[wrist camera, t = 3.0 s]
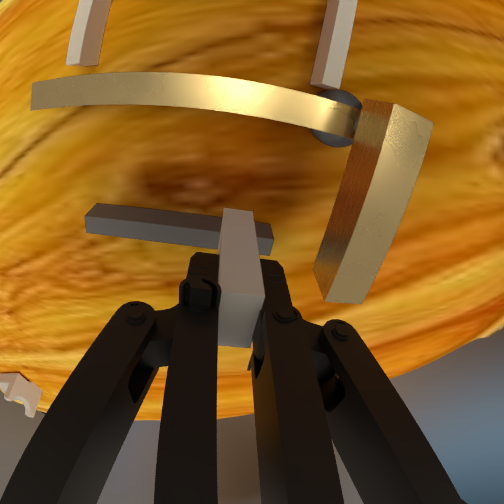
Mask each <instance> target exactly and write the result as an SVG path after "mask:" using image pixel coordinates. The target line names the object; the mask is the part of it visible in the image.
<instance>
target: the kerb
mask: <svg viewBox="0 0 504 504" xmlns="http://www.w3.org/2000/svg"><path fill="white" fill-rule="evenodd" d="M254 224H255V230H256V237H257V244H258V251H259V255H266V256H270V253H271V249H272V245H273V241H274V237H273V233H272V229H271V225H270V224H265V223H258V222H254ZM221 225H222V217H214V216H206V215H198V214H190V213H182V212H174V211H165V210H157V209H148V208H138V207H129V206H119V205H109V204H99V203H97V204H96V205H95V206H94V207H93V208H92V209H91V210H90V211H89V212H88V213H87V214H86V215H85V226H86V233H93V234H101V235H108V236H116V237H124V238H132V239H140V240H147V241H155V242H163V243H171V244H179V245H187V246H195V247H202V248H210V249H218V245H219V238H220V231H221Z"/></svg>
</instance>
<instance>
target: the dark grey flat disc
mask: <svg viewBox="0 0 504 504" xmlns="http://www.w3.org/2000/svg"><path fill="white" fill-rule="evenodd" d="M316 96H319V97H322V98H326V99H329V100H332V101H336V102H339V103H342V104H345V105H348V106H351V107H354V108H357V109H360V110H362V104H361V103H360V101H359V100H358V99H357V98H356V97H355V96H353V95H352V94H350V93H348V92H346V91H343V90H326V91H322V92H320V93H319V94H317V95H316ZM309 130H310V131H311V133H312V134H313V135H314V136H315V137H316V138H317V139H318V140H320V141H321V142H323V143H324V144H326V145H329V146H332V147H345V146H348V145H351V144H353V140H352V139H349V138H345V137H342V136H338V135H335V134H331V133H328V132H324V131H320V130H316V129H312V128H309Z"/></svg>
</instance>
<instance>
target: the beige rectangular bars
mask: <svg viewBox="0 0 504 504" xmlns="http://www.w3.org/2000/svg"><path fill="white" fill-rule="evenodd" d="M357 1H358V0H328V3H327V7H326V12H325V17H324V22H323V27H322V31H321V36H320V41H319V45H318V50H317V54H316V59H315V64H314V68H313V73H312V77H311V81H310V85H314V86H317V87H321V88H324V89H339V88H340V84H341V80H342V75H343V71H344V66H345V62H346V57H347V52H348V48H349V43H350V38H351V33H352V28H353V23H354V17H355V12H356V7H357ZM111 3H112V0H80V1H79V4H78V8H77V12H76V15H75V19H74V23H73V28H72V32H71V37H70V42H69V47H68V53H67V59H66V65H71V66H92V65H98V62H99V56H100V50H101V45H102V40H103V35H104V30H105V26H106V22H107V18H108V14H109V10H110V6H111Z"/></svg>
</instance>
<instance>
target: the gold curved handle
mask: <svg viewBox="0 0 504 504" xmlns="http://www.w3.org/2000/svg"><path fill="white" fill-rule="evenodd" d="M109 104H134V105H161V106H177V107H189V108H199V109H208V110H216V111H224V112H231V113H238V114H244V115H250V116H256V117H262V118H267V119H272V120H277V121H282V122H287V123H291V124H296V125H300V126H304V127H308V128H312V129H316V130H320V131H324V132H328V133H331V134H335V135H338V136H342V137H345V138H349V139H352V140H353V144H352V147H351V151H350V155H349V158H348V161H347V165H346V168H345V172H344V175H343V178H342V182H341V185H340V188H339V191H338V195H337V198H336V201H335V204H334V207H333V210H332V213H331V216H330V219H329V222H328V225H327V228H326V231H325V234H324V237H323V240H322V243H321V246H320V249H319V251H318V254H317V257H316V260H315V263H314V265H313V268H312V270H313V273H314V275H315V278H316V280H317V283H318V286H319V288H320V291H321V293H322V296H323V299H324V301H325V302H337V303H353V304H362V302H363V301H364V299H365V297H366V295H367V293H368V291H369V289H370V287H371V285H372V283H373V281H374V279H375V277H376V275H377V273H378V271H379V269H380V267H381V265H382V263H383V261H384V258H385V256H386V254H387V252H388V250H389V248H390V245H391V243H392V241H393V239H394V236H395V234H396V232H397V229H398V227H399V224H400V222H401V220H402V217H403V215H404V212H405V210H406V207H407V204H408V202H409V199H410V197H411V194H412V191H413V188H414V186H415V183H416V180H417V177H418V174H419V171H420V168H421V165H422V162H423V159H424V156H425V153H426V149H427V146H428V143H429V139H430V136H431V132H432V128H433V125H434V123H433V122H431V121H429V120H428V119H426V118H424V117H422V116H420V115H418V114H416V113H414V112H412V111H410V110H407V109H405V108H403V107H401V106H399V105H397V104H394V103H389V102H383V101H377V100H370V99H364V102H363V106H362V110H360V109H357V108H354V107H351V106H348V105H345V104H342V103H339V102H336V101H332V100H329V99H326V98H322V97H319V96H315V95H311V94H308V93H304V92H300V91H296V90H291V89H287V88H283V87H278V86H273V85H268V84H263V83H258V82H252V81H246V80H240V79H233V78H226V77H218V76H209V75H199V74H187V73H169V72H118V73H101V74H89V75H79V76H71V77H63V78H57V79H51V80H45V81H40V82H34V83H32V93H31V109H30V111H32V110H39V109H47V108H57V107H68V106H82V105H109Z"/></svg>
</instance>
